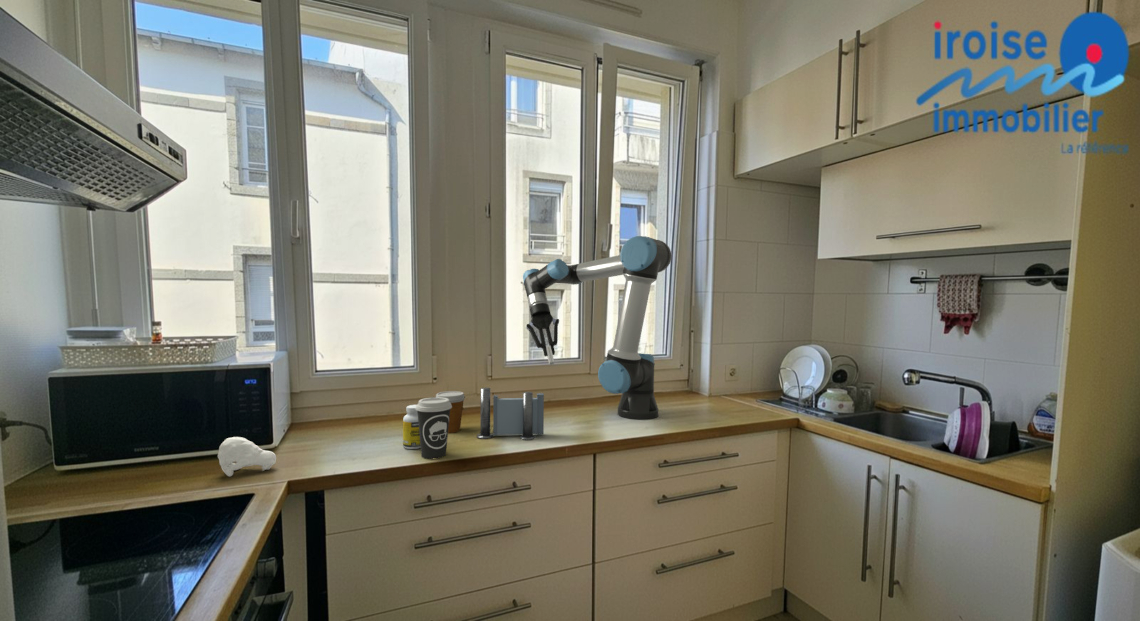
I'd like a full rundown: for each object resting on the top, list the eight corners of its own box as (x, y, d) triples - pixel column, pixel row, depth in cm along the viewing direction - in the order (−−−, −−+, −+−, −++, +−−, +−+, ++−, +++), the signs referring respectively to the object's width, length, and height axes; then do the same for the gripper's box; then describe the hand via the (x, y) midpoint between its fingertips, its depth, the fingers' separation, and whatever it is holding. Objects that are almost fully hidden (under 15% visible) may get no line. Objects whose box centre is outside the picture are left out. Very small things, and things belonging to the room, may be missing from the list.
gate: (493, 435, 144) (493, 395, 144) (493, 433, 147) (493, 393, 146) (543, 434, 146) (543, 394, 146) (543, 432, 148) (543, 393, 148)
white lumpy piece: (226, 434, 116) (281, 434, 120) (223, 468, 116) (278, 468, 120) (216, 441, 110) (274, 441, 114) (212, 477, 110) (270, 477, 114)
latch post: (536, 435, 146) (536, 391, 146) (534, 440, 142) (534, 394, 141) (521, 435, 147) (521, 391, 146) (518, 440, 142) (518, 394, 142)
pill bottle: (404, 451, 131) (404, 409, 131) (401, 444, 137) (401, 405, 136) (428, 447, 134) (428, 407, 134) (424, 441, 140) (424, 403, 139)
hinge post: (495, 434, 148) (495, 387, 147) (491, 439, 143) (491, 390, 142) (479, 434, 148) (479, 386, 148) (474, 438, 143) (475, 389, 142)
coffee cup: (456, 450, 132) (456, 397, 132) (444, 461, 123) (444, 404, 122) (424, 448, 133) (424, 396, 133) (409, 460, 124) (409, 403, 123)
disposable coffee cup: (470, 430, 152) (470, 393, 152) (445, 436, 145) (445, 397, 145) (454, 424, 159) (454, 389, 158) (429, 430, 152) (429, 393, 151)
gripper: (554, 308, 186) (568, 363, 176) (522, 313, 183) (533, 370, 174) (556, 299, 179) (570, 356, 170) (522, 305, 177) (534, 363, 167)
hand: (551, 363), depth 172 cm, fingers closed
